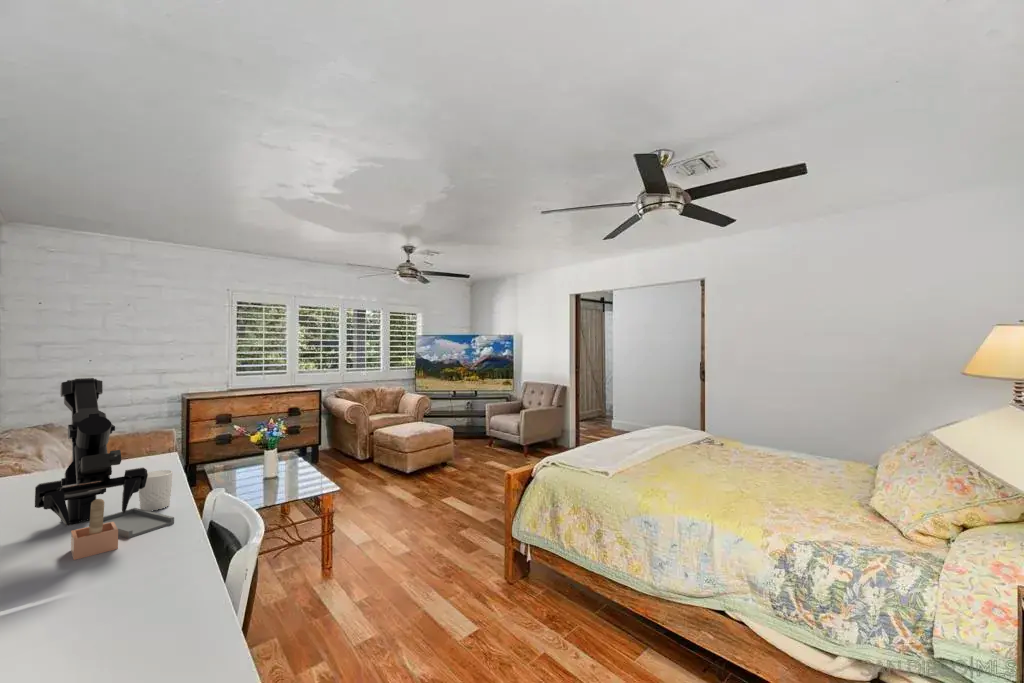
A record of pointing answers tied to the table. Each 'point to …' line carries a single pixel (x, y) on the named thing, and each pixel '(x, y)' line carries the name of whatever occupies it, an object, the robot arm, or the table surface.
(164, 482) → the white cup
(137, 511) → the slate tray
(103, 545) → the terracotta box
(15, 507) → the table surface
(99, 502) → the birch dowel
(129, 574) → the table surface
